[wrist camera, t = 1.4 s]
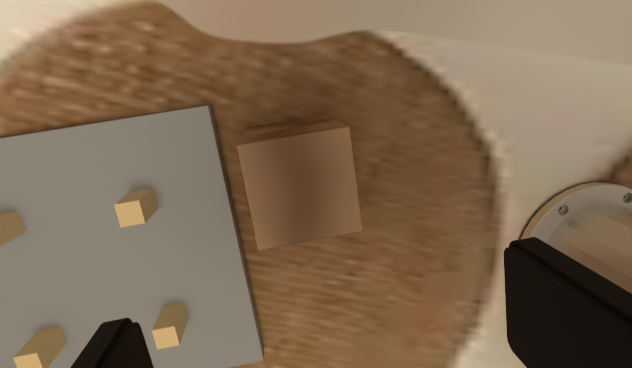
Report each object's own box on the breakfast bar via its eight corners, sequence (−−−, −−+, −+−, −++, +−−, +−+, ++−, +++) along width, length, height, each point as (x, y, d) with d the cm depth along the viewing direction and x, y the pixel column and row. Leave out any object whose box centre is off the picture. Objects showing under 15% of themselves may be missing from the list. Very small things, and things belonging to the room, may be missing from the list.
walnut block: (328, 114, 29) (349, 126, 21) (339, 193, 31) (362, 231, 23) (245, 127, 29) (236, 145, 21) (261, 207, 30) (258, 250, 22)
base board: (211, 104, 28) (200, 108, 23) (263, 348, 33) (263, 388, 29) (-93, 152, 26) (-164, 166, 22) (12, 398, 32) (-28, 449, 27)
